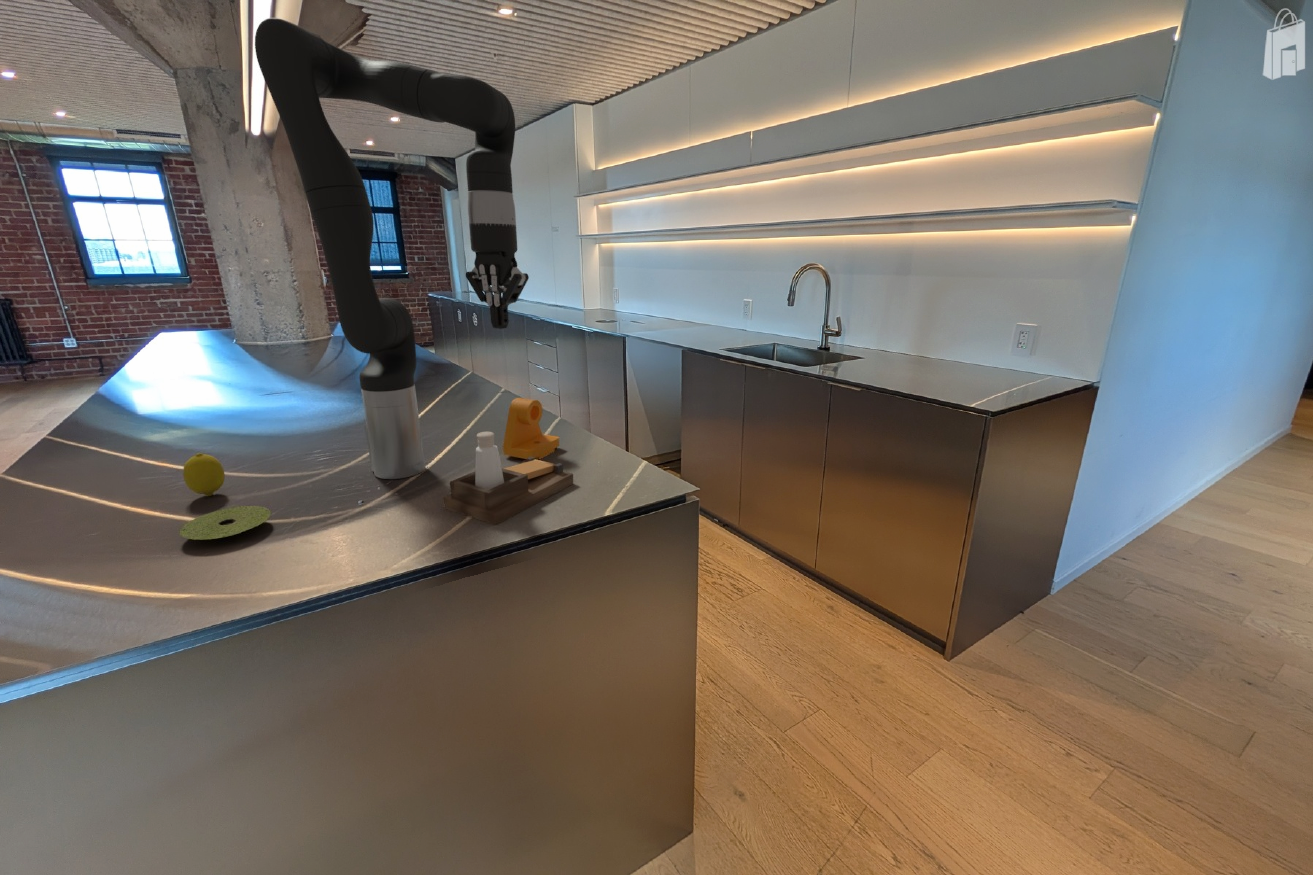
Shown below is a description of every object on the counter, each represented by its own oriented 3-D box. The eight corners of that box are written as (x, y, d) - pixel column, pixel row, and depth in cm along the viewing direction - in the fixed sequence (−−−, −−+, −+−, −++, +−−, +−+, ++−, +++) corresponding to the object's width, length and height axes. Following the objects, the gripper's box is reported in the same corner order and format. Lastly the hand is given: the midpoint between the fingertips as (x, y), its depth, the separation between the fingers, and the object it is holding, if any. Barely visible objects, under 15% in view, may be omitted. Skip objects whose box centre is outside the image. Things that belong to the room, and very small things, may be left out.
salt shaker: (511, 489, 98) (507, 429, 95) (499, 502, 93) (494, 439, 90) (482, 487, 99) (476, 427, 96) (468, 500, 94) (462, 437, 90)
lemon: (186, 504, 95) (174, 460, 93) (193, 492, 100) (182, 450, 98) (226, 498, 98) (215, 455, 95) (231, 487, 103) (221, 446, 100)
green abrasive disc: (262, 543, 83) (259, 531, 83) (169, 556, 79) (165, 544, 79) (280, 511, 93) (278, 501, 93) (199, 522, 89) (196, 511, 89)
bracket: (531, 463, 116) (528, 407, 112) (503, 458, 119) (499, 403, 115) (561, 448, 125) (559, 396, 122) (534, 443, 128) (531, 392, 125)
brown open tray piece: (444, 507, 95) (441, 480, 94) (525, 471, 112) (523, 447, 110) (495, 524, 90) (493, 496, 88) (573, 483, 106) (572, 458, 105)
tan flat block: (503, 475, 102) (503, 468, 101) (537, 465, 109) (537, 458, 109) (524, 481, 99) (524, 473, 99) (557, 470, 107) (557, 463, 107)
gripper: (538, 223, 93) (543, 329, 98) (481, 224, 99) (488, 323, 104) (505, 220, 87) (512, 333, 92) (446, 221, 93) (456, 327, 98)
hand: (500, 328), depth 98 cm, fingers closed
